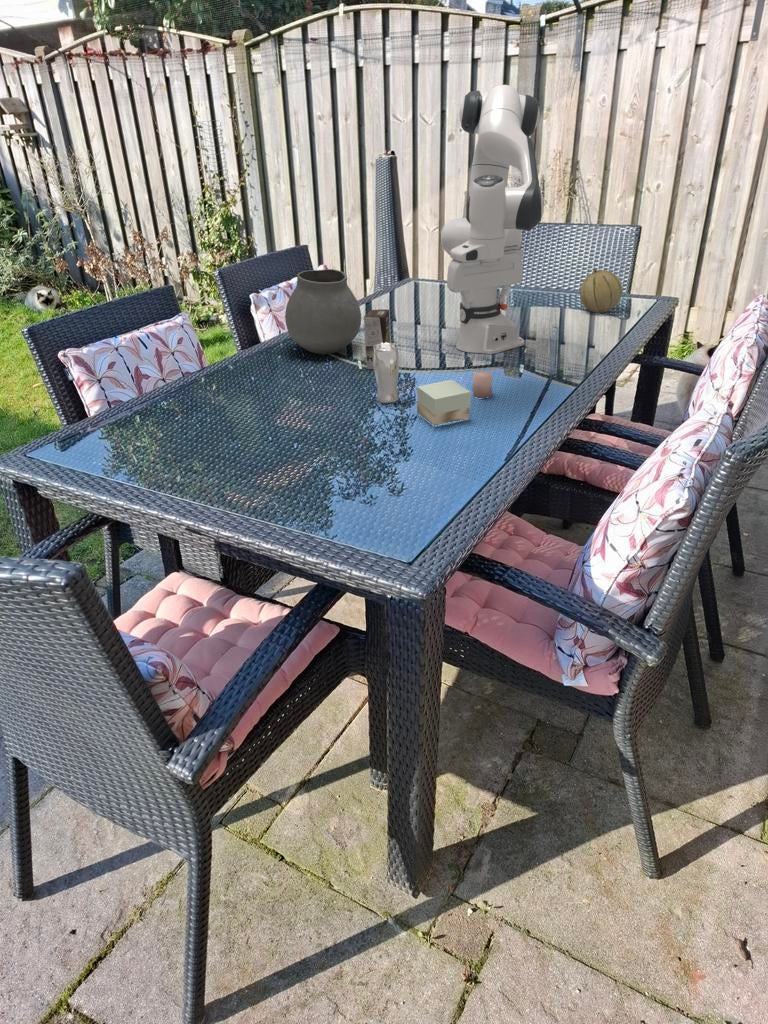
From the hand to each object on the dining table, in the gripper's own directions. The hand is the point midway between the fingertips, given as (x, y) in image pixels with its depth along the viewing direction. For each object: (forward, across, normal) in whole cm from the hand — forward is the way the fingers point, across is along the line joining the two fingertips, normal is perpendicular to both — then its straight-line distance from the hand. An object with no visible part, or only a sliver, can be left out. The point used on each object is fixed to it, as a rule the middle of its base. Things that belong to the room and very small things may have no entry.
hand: (484, 305), depth 179 cm
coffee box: (+25, +15, -38) cm, 48 cm away
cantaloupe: (+24, -78, -51) cm, 96 cm away
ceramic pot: (+25, +25, -60) cm, 70 cm away
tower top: (+21, +16, +8) cm, 28 cm away
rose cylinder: (+25, 0, 0) cm, 25 cm away
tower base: (+25, +16, +8) cm, 31 cm away
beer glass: (+25, +24, -10) cm, 36 cm away
